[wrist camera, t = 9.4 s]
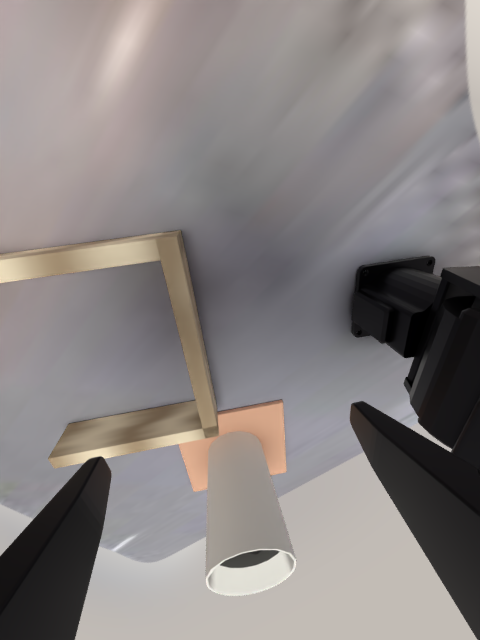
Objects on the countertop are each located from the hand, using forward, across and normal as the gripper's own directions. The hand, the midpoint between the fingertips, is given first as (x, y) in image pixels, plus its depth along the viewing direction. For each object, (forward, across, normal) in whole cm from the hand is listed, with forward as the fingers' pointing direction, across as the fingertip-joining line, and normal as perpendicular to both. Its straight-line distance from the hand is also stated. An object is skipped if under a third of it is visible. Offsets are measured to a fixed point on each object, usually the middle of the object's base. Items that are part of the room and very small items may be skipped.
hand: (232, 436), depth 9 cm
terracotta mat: (+12, +1, +17) cm, 21 cm away
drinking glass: (+12, +1, +17) cm, 21 cm away
